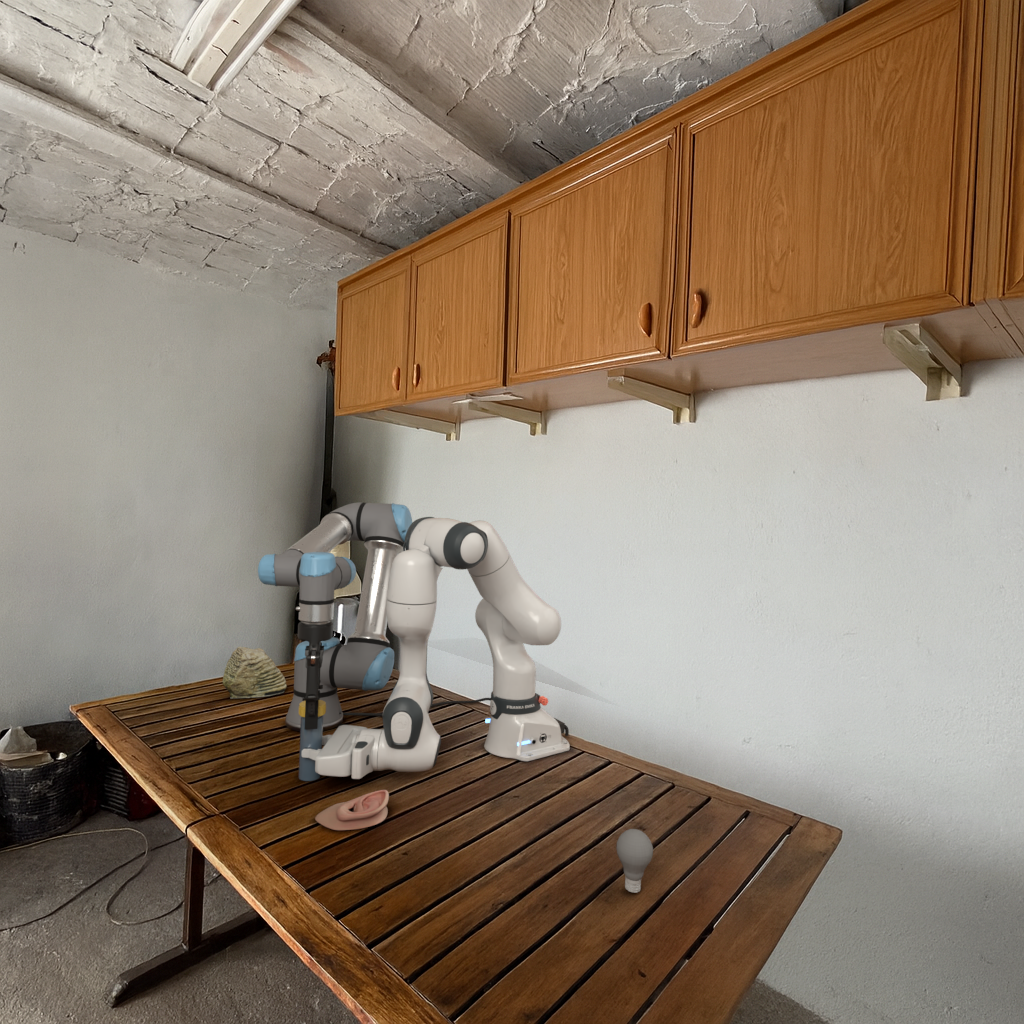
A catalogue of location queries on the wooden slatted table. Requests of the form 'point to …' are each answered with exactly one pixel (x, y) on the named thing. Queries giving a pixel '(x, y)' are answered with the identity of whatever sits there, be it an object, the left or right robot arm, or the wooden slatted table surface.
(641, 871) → the light bulb
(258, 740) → the wooden slatted table surface
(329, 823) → the anatomical model
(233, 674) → the fossil
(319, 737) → the blue-grey cylinder
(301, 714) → the lid
